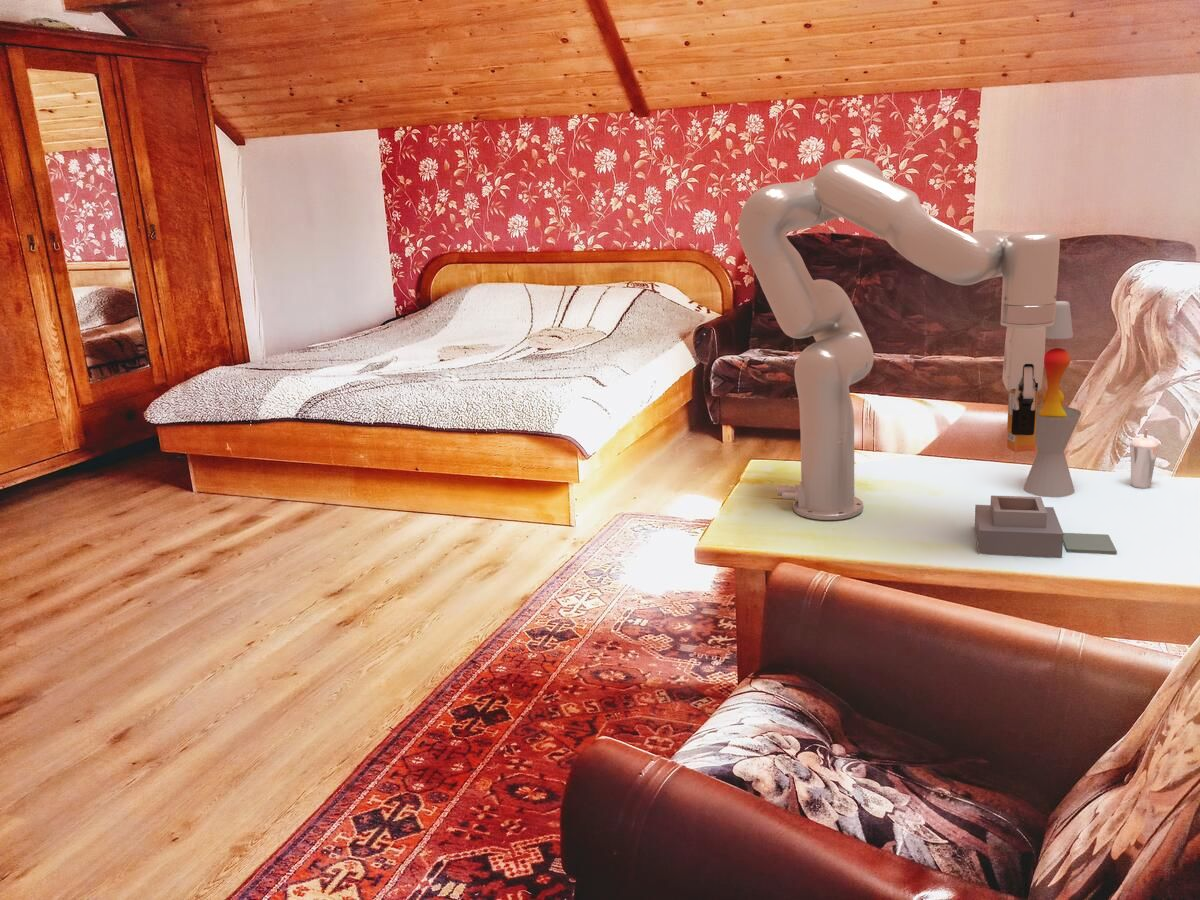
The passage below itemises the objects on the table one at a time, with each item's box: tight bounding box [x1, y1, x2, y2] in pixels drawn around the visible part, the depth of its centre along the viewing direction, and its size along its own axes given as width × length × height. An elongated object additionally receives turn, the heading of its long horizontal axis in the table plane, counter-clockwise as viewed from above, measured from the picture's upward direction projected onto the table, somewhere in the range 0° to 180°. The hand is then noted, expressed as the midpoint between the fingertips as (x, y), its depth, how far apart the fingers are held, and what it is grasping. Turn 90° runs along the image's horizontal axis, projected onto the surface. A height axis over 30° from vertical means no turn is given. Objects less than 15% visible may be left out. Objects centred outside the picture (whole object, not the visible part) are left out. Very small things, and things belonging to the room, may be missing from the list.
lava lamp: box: [1023, 300, 1082, 498], centre depth 169 cm, size 9×9×35 cm
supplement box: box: [1006, 387, 1039, 453], centre depth 146 cm, size 3×3×10 cm
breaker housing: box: [974, 495, 1064, 559], centre depth 151 cm, size 12×12×6 cm
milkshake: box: [1129, 428, 1160, 489], centre depth 171 cm, size 4×5×10 cm
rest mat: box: [1063, 532, 1118, 555], centre depth 148 cm, size 7×7×1 cm
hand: (1020, 429), depth 146 cm, fingers closed on supplement box, 3 cm apart
